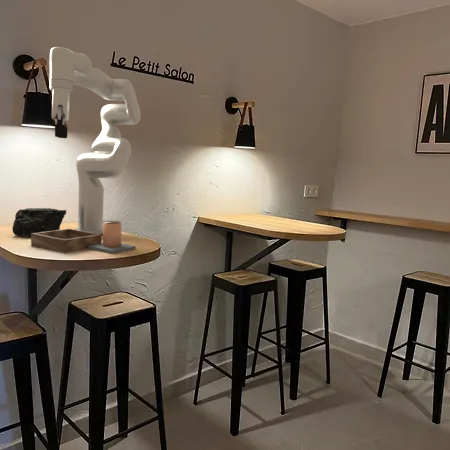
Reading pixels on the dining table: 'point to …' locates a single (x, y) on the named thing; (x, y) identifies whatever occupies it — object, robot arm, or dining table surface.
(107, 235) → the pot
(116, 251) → the mat
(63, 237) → the brown wooden tray
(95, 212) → the robot arm
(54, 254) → the dining table surface
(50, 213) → the rock
